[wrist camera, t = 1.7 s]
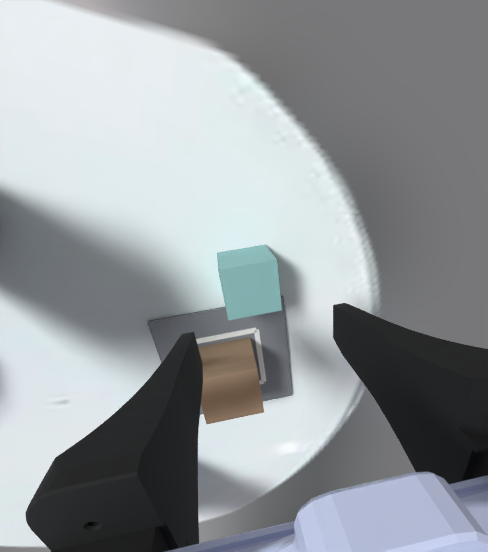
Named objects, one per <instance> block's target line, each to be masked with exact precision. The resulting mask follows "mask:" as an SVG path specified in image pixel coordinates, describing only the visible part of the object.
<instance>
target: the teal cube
mask: <svg viewBox="0 0 488 552" xmlns="http://www.w3.org/2000/svg"><path fill="white" fill-rule="evenodd" d="M217 258H218V271H219V276H220V281H221V286H222V291H223V296H224V301H225V306H226V311H227V316H228V321H229V320H234V319H239V318H244V317H250V316H255V315H260V314H265V313H271V312H276V311H281V310H282V306H281V296H280V285H279V275H278V264H277V259H276V258H275V256H274V255H273V254H272V252H271V251H270V250H269V249H268V247H267V246H266V245H260V246H254V247H249V248H243V249H237V250H231V251H226V252H220V253H217Z"/></svg>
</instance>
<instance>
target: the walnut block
mask: <svg viewBox="0 0 488 552" xmlns="http://www.w3.org/2000/svg"><path fill="white" fill-rule="evenodd" d="M198 349H199V352H200V356H201V360H202V363H203V387H202V397H201V407H202V410H203V413H204V417H205V420H206V423H207V424H211V423H215V422H220V421H225V420H229V419H234V418H239V417H244V416H248V415H253V414H258V413H263V412H264V409H263V402H262V396H261V390H260V384H259V377H258V371H257V366H256V361H255V357H254V353H253V349H252V344H251V340H250V337H249V338H244V339H238V340H233V341H228V342H223V343H218V344H213V345H208V346H202V347H198Z"/></svg>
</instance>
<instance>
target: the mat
mask: <svg viewBox="0 0 488 552" xmlns="http://www.w3.org/2000/svg"><path fill="white" fill-rule="evenodd" d="M281 306H282V310H281V311H276V312H271V313H265V314H260V315H255V316H250V317H244V318H239V319H234V320H229V321H228V316H227V311H226V307H222V308H216V309H211V310H206V311H200V312H195V313H190V314H184V315H179V316H173V317H168V318H163V319H157V320H152V321H148V326H149V328H150V331H151V334H152V337H153V340H154V343H155V345H156V348H157V351H158V354H159V357H160V360H161V362H163V360H164V359H165V358H166V356H167V355H168V353H169V352H170V351H171V349H172V348H173V346H174V345H175V343H176V342H177V340H178V339H179V337H180V336H181V334H184V333H190V332H194V334H195V337H196V341H197V345H198V347H202V346H208V345H213V344H218V343H223V342H228V341H233V340H238V339H244V338H249V337H250V340H251V344H252V349H253V353H254V357H255V361H256V366H257V371H258V377H259V384H260V390H261V396H262V401H267V400H272V399H277V398H281V397H286V396H291V395H292V387H291V376H290V365H289V354H288V343H287V332H286V321H285V311H284V300H283V296H281ZM200 414H204V413H203V410H202V407H200Z"/></svg>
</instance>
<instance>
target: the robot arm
mask: <svg viewBox="0 0 488 552" xmlns="http://www.w3.org/2000/svg"><path fill="white" fill-rule="evenodd" d="M333 338H334V340H335V342H336V344H337V346H338V347H339V349H340V351H341V353H342V354H343V356H344V357H345V359H346V360H347V361H348V363H349V364H350V366H351V367H352V368H353V370H354V371H355V372H356V374H357V375H358V376H359V378H360V379H361V380H362V382H363V383H364V384H365V386H366V387H367V388H368V390H369V391H370V393H371V394H372V395H373V397H374V398H375V400H376V402H377V403H378V405H379V406H380V408H381V410H382V412H383V413H384V415H385V417H386V418H387V420H388V422H389V423H390V425H391V427H392V428H393V430H394V432H395V434H396V436H397V438H398V439H399V441H400V443H401V445H402V446H403V448H404V450H405V452H406V454H407V456H408V458H409V460H410V461H411V463H412V465H413V467H414V469H415V471H416V472H413V473H408V474H404V475H399V476H395V477H391V478H386V479H382V480H378V481H373V482H369V483H365V484H360V485H356V486H352V487H347V488H343V489H339V490H335V491H331V492H327V493H325V494H322V495H320V496H317V497H315V498H312V499H311V500H309V501H308V502H307V503H306V504H305V505H303V506H302V507H301V508H300V509H299V511H298V514H297V517H296V519H295V521H292V522H288V523H284V524H279V525H275V526H271V527H267V528H262V529H258V530H254V531H250V532H245V533H241V534H237V535H233V536H229V537H225V538H220V539H216V540H212V541H208V542H203V543H199V528H198V426H199V417H200V407H201V397H202V387H203V363H202V360H201V356H200V352H199V349H198V345H197V341H196V337H195V334H194V332H190V333H184V334H181V336H180V337H179V339H178V340H177V342H176V343H175V345H174V346H173V348H172V349H171V351H170V352H169V353H168V355H167V356H166V358H165V359H164V360H163V362H162V363H161V365H160V366H159V367H158V369H157V370H156V371H155V372H154V374H153V375H152V376H151V377H150V379H149V380H148V381H147V382H146V383H145V384H144V385H143V386H142V387H141V388H140V390H139V391H138V392H137V393H136V394H135V395H134V396H133V397H132V398H131V399H130V400H129V401H127V402H126V403H125V404H124V405H123V406H122V407H121V408H120V409H119V410H118V411H117V412H116V413H114V414H113V415H112V416H111V417H110V418H109V419H107V420H106V421H105V422H104V423H103V424H101V425H100V426H99V427H98V428H96V429H95V430H94V431H92V432H91V433H90V434H89V435H87V436H86V437H85V438H83V439H82V440H80V441H79V442H77V443H76V444H75V445H73V446H72V447H70V448H69V449H68V450H66V451H65V452H63V453H62V454H60V455H59V456H57V457H56V458H55V460H54V461H53V463H52V465H51V466H50V468H49V470H48V472H47V473H46V475H45V477H44V479H43V481H42V482H41V484H40V486H39V488H38V490H37V491H36V493H35V495H34V497H33V499H32V500H31V502H30V504H29V506H28V508H27V511H26V521H27V524H28V525H29V527H30V528H31V530H32V531H33V532H34V533H35V534H36V535H37V536H38V537H39V538H40V539H41V540H42V542H43V543H44V544H45V545H46V546H47V547H48V548H49V549H50V550H51V552H488V349H484V348H479V347H473V346H468V345H464V344H459V343H455V342H450V341H446V340H442V339H438V338H435V337H431V336H428V335H425V334H422V333H418V332H415V331H412V330H409V329H406V328H404V327H401V326H398V325H396V324H393V323H391V322H388V321H385V320H383V319H381V318H379V317H376V316H374V315H372V314H370V313H367V312H365V311H363V310H361V309H358V308H356V307H354V306H351V305H349V304H346V303H342V304H337V305H333Z"/></svg>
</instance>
